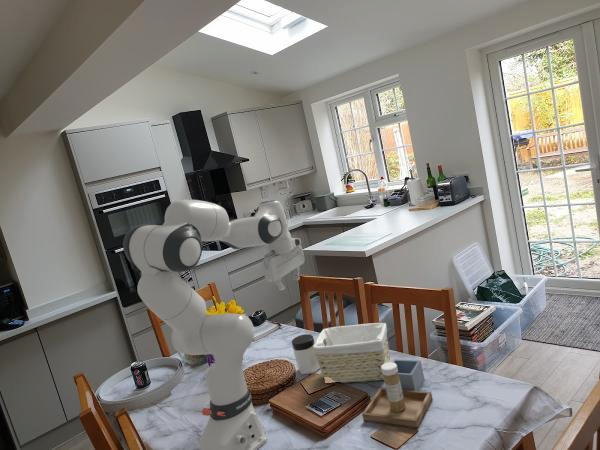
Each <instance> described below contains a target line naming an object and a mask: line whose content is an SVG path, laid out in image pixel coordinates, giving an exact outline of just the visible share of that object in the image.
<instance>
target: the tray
mask: <svg viewBox="0 0 600 450" xmlns="http://www.w3.org/2000/svg"><path fill="white" fill-rule="evenodd" d="M402 392H403V398H404V403H405V405H406V407H405V409H404V410H403V411H400V412H394V411H392V410H391V409H390V403H389V399H388V396H387V391H386V387H380V388H379V389H378V390H377V392H376V393H375V395H374V396H373V398H372V399H371V400H370V402H369V404H368V405H367V406H366V408H365V409H364V411H363V412H362V413H361V414H362V415H361V416H362V419H363V422H364V423H365V422H366V423H370V424H371V423H372V424H380V425H387V426H394V427H400V426H403V427H402V428H408V427H411V428H410V429H417V430H418V429H419V428H420V425H421V424H422V422H423V420H424V417H425V415H426V413H427V412H428V409H429V407H431V406H430V405H431V403H432V401H433V400H434V398H433V394H432V391H425V390H424V391H423V390H418V391H414V390H402ZM404 426H405V427H404Z"/></svg>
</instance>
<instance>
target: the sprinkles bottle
mask: <svg viewBox="0 0 600 450" xmlns="http://www.w3.org/2000/svg"><path fill="white" fill-rule="evenodd" d="M381 371H382V374H383V377H384V380H383V381H384V385H385V388H386V391H387V396H388V399H389V403H390V409H391V410H392V411H394V412H400V411H403V410H404V409H405V407H406V405H405V403H404V398H403V392H402V388H401V383H400V380H399V376H398V368H397V365H396V364H395V363H393V361H390V362H388V363H385V364H383V365H382V366H381Z"/></svg>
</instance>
